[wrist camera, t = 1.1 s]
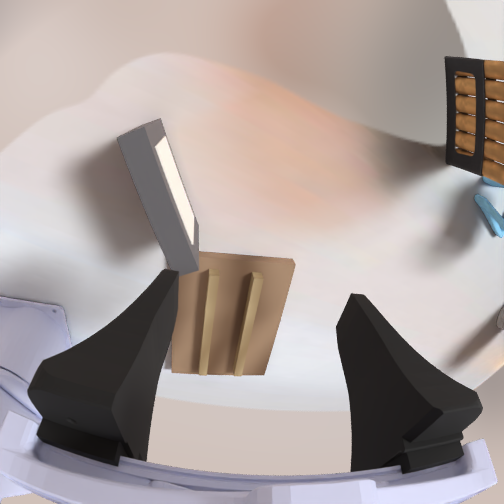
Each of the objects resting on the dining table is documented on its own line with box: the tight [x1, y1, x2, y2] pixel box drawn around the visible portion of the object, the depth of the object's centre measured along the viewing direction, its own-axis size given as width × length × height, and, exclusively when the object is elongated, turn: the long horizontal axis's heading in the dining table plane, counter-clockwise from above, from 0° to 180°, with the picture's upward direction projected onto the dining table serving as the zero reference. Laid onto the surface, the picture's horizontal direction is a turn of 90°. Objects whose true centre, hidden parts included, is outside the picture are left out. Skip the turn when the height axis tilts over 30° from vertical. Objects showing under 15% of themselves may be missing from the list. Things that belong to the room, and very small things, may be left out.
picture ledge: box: [172, 251, 295, 376], centre depth 29 cm, size 10×14×2 cm
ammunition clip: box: [445, 56, 504, 185], centre depth 18 cm, size 11×2×12 cm, turn 6°
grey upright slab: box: [117, 118, 199, 276], centre depth 20 cm, size 2×9×7 cm, turn 16°
